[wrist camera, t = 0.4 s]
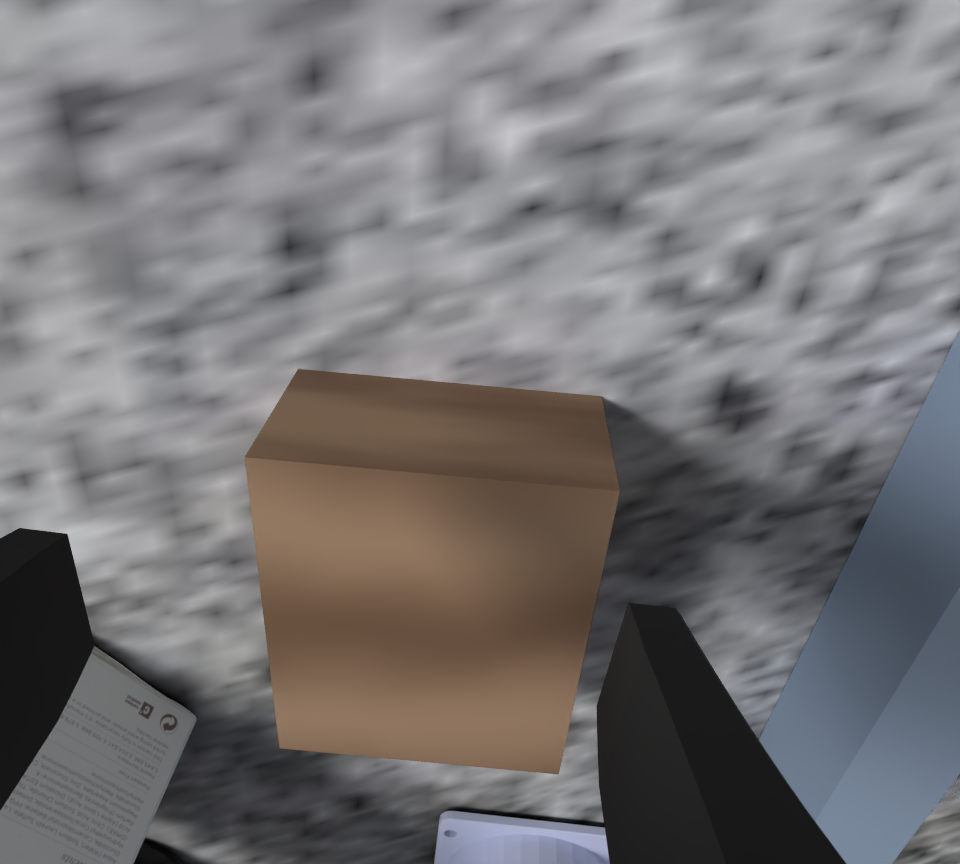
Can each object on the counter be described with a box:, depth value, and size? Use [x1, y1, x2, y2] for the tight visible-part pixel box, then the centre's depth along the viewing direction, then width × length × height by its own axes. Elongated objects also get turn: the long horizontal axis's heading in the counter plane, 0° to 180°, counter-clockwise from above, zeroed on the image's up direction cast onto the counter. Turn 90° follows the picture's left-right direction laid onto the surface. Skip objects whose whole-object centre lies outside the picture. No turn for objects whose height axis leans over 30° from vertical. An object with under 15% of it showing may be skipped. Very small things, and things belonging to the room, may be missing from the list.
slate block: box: [759, 331, 960, 864], centre depth 21 cm, size 20×3×4 cm, turn 174°
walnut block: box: [245, 369, 620, 774], centre depth 20 cm, size 10×8×4 cm
